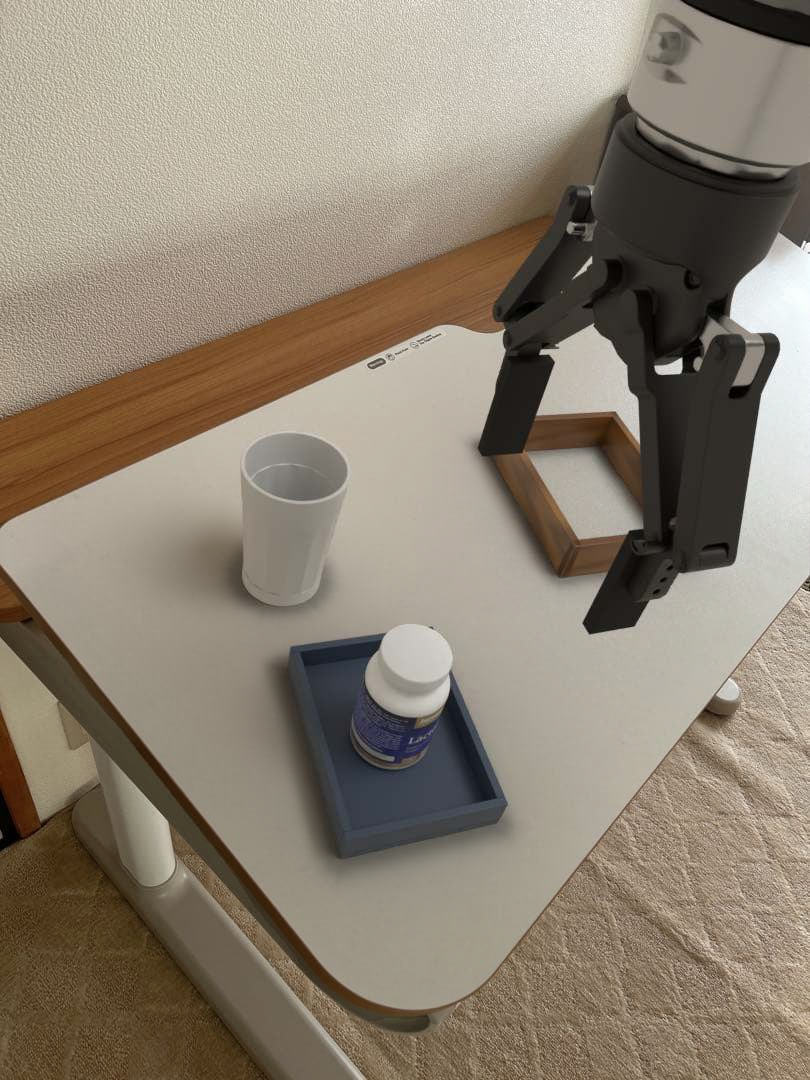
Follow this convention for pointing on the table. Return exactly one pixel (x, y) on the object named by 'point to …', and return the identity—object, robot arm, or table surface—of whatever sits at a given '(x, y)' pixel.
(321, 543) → the cup
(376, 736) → the pill bottle
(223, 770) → the table surface
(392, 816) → the tray
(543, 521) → the wooden frame
